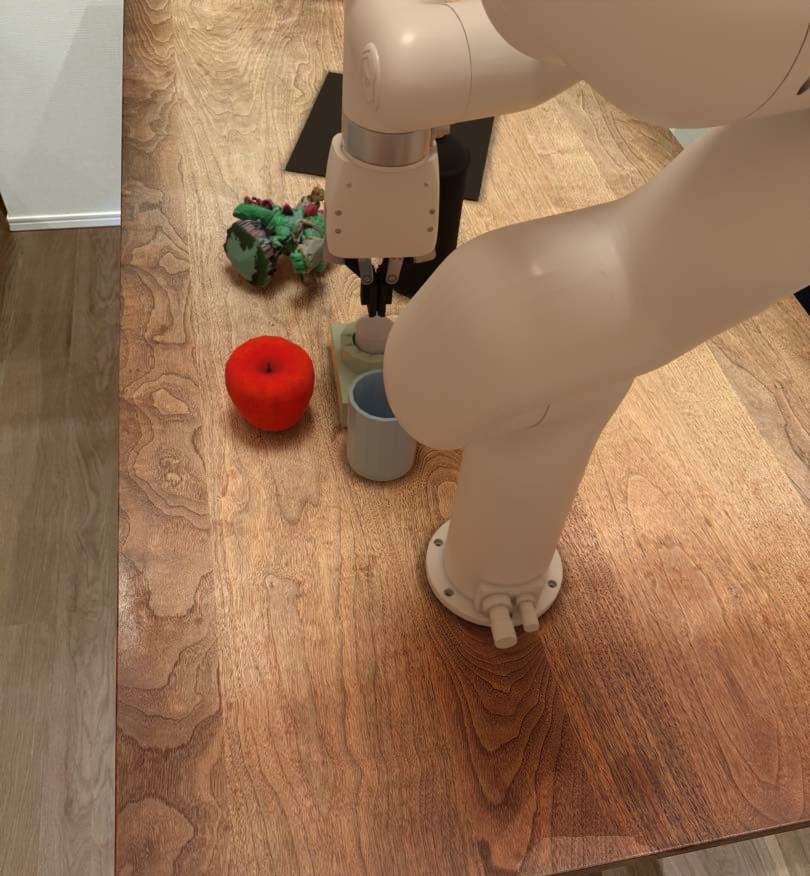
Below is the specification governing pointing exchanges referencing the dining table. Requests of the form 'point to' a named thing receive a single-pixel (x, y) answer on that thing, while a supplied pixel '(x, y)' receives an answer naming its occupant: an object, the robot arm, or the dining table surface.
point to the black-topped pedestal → (328, 123)
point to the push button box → (349, 363)
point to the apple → (270, 382)
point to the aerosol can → (442, 211)
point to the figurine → (277, 238)
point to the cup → (376, 432)
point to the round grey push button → (372, 334)
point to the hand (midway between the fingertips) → (375, 308)
